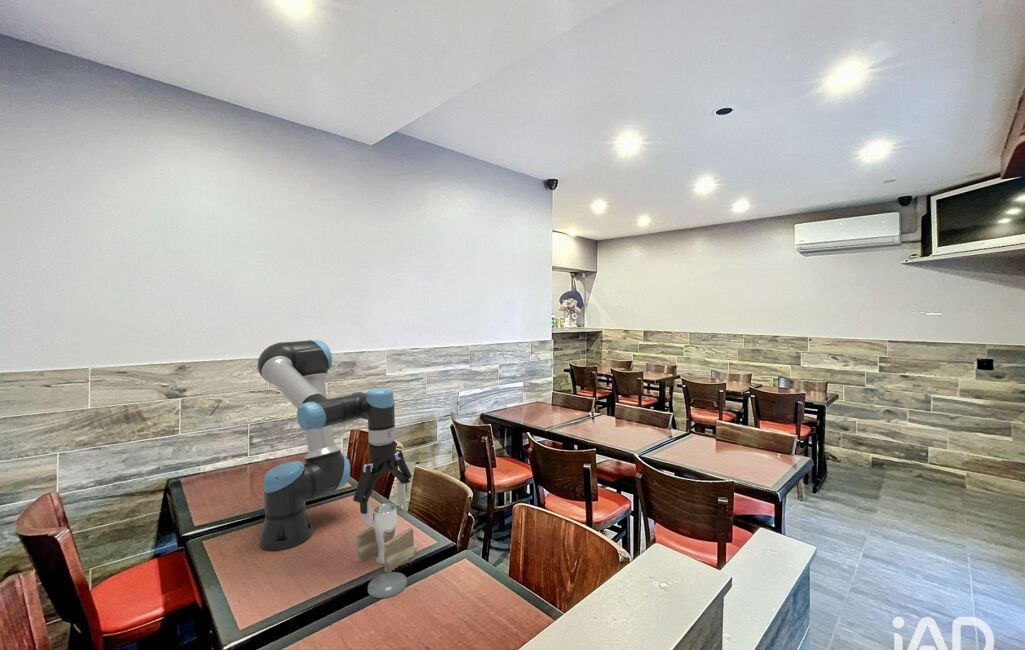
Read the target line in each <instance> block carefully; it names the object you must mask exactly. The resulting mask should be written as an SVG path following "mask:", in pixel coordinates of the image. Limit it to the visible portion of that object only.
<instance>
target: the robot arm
mask: <svg viewBox="0 0 1025 650" xmlns="http://www.w3.org/2000/svg"><path fill="white" fill-rule="evenodd" d="M332 365H333V354H332V352H331V349H330V348H329V346H328V344H326V342H323V340H318V339H317V340H312V339H309V340H308V339H307V340H300V341H298V340H297V341H287V342H286V341H285V342H284V341H282V342H277V343H273V344H271V345H269V346H268V347H266V348H265V349H264V350H263V351H262V353H261V354H260V355H259V357H258V360H257V371H258V373H259V374H260V376H261V377H262V378H263V380H265V382H268V383H271V384H273V385H274V386H275V387H276V388H277V389H278V390H279V391H280V392H281V393H282V394H283V396H285V398H286V399H287V400H288V401H289V402H290V403H291V404H292V405H293V406H294V407H295V408H296V409H297V411H296V418H297V420H296V421H297V422H298V424H299V427H300V428H301V429H302V430H304V431H305V437H306V443H307V444H306V445H307V450H308V451H307V454H306V455H305V456H304V463H303V462H302V461H299V460H296V461H295V460H294V461H293V460H292V461H290V462H289V461H288V462H284V463H281V464H277V466H274V467H273V468H271V469H269V470H268V471H267V472H266V474H265V475H264V477H263V487H262V489H263V497H264V498H263V501H264V517H265V518H264V522H263V526H262V527H261V528H262V529H261V533H260V536H259V546H260V548H261V549H263V550H266V551H283V550H286V549H289V548H290V549H291V548H293V547H296V546H298V545H301V544H302V543H304V542H305V541H307V540H308V539H309V538H310V537H312V534H313V524H312V522H311V519H310V517H309V515H308V513H307V510H306V501H308V500H311V499H314V498H317V497H319V496H322V495H325V494H328V493H330V492H331V493H332V492H335V491H337V490H338V489H341V488H344V487H345V486H346V485H347V483H348V482H349V479H350V475H351V464H350V460H349V459H348V456H347V454H345V453H342V451H341V448H339V447H338V446H337V445H335V444H336V443H335V439H334V438H335V437H334V432H333V427H332V426H333V425H338V424H342V423H346V422H347V423H348V422H350V421H351V422H352V421H355V420H356V421H357V420H361V419H363V420H367V429H368V431H367V432H368V443H369V445H368V451H369V454H368V455H369V457H370V463H368V464H364V463H363V464H362V465H361V471H360V476H359V479H358V482H357V487H356V489H355V493H354V495H353V499H352V500H353V502H355V503H359V509H360V511H359V512H360V514H361V516H362V524H364V525H367V526H372V508H371V505H372V504H371V500H369V499H370V497H371V495H372V493H373V491H374V489H375V487H376V485H377V483H378V480H379V479H381V476H384V475H386V474H389V473H391V474H392V475H393V476H394V478H396V479H397V481H399V482H397V483H396V484H397V487H396V488H397V504H398V505H401V506H406V505H407V492H408V485H407V484H409V483H410V479H412V474H411V471H410V469H409V466H408V465H407V463H406V461H405V459H404V452H401V451H397V442H396V441H395V439H396V424H395V423H396V421H395V417H396V415H395V399H394V391H393V390H392V388H390V387H379V388H372V389H368V391H367V392H363V391H356V392H355V391H353V392H351V393H348V395H345V396H337V397H333V398H328V395H327V389H326V381H325V380H326V378H327V376H328V375H329V373H328V371H329V370H331V369H332ZM395 462H396V463H395ZM398 468H399V469H398Z"/></svg>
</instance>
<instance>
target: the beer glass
mask: <svg viewBox="0 0 1025 650" xmlns="http://www.w3.org/2000/svg"><path fill="white" fill-rule="evenodd" d="M372 526H373V532H374V537H375V541H376V547H377V552H376V554H375V562H376V563H377V564H379V565H385V560H384V544H385V543H386V542H388V541H389V540H391V539H393V538H394V537H396V536H397V530H398V511H397V506H396V504H394V503H381V504H378V505H376V506H375V507H374V508H373V509H372Z"/></svg>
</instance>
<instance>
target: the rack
mask: <svg viewBox="0 0 1025 650" xmlns="http://www.w3.org/2000/svg"><path fill="white" fill-rule="evenodd" d="M356 537H357V538H356V539H357V540H356V541H357V561H358V562H359V563H363V562H365V561H366V560H368V559H370V558H371V557H373V556H375V555H376V552H377V547H376V541H375V537H374V532H373V525H370V526H369V527H368V528H366V529H364V530H362V531H361V532H359V533H357V534H356ZM414 540H415V539H414V528H411V527H408V528H407V529H405V530H403V531H402V532H401V533H399V534H396V537H394V538H393V539H391V540H389V541H388V542H386V543H385V544H384V560H385V564H384V573H386V572H387V573H389V572H393V571H394V570H396V569H397V568H398V566H399V565H400V564H401V565H403V564H404V563H405V561H406V562H407V561H408V560H410V559H411V558H412V557H414V556H415V555H417V554H416V553H418V550H417V546H416V545H414V543H415V541H414ZM409 558H410V559H409ZM402 563H403V564H402ZM401 565H400V566H401ZM400 566H399V567H400ZM396 567H397V568H396ZM395 568H396V569H395ZM392 570H393V571H392Z"/></svg>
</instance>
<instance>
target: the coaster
mask: <svg viewBox="0 0 1025 650" xmlns="http://www.w3.org/2000/svg"><path fill="white" fill-rule="evenodd" d="M407 585H408V578H407V577H406V575H405V574H404V573H401V572H398V571H397V572H396V571H392V572H389V573H386V572H384V573H382V574H378V575H377V576H375V577H374V578H372V579H371V580H370V581H369V583H368V585H367V593H368V595H369V596H370V597H372V598H376V599H388V598H392V597H395V596H397V595H398V594H400V593H401V592H403V591H404V590H405V588H406V587H407Z"/></svg>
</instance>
